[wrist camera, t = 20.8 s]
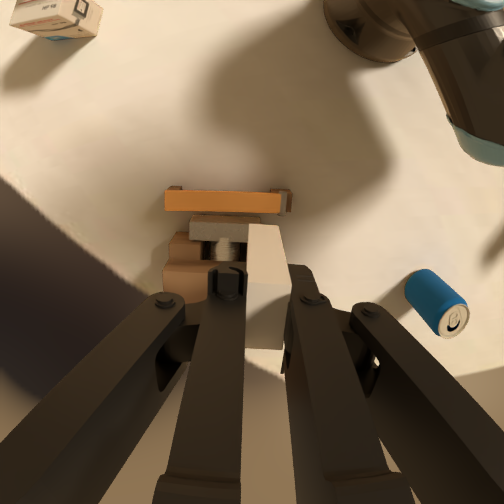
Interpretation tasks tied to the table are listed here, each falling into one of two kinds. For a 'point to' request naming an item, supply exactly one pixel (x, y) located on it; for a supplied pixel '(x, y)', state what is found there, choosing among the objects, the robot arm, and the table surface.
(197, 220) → the pin
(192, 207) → the bar
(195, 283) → the hitch block
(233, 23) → the table surface
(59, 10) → the ink box
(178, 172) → the table surface
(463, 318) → the beverage can
